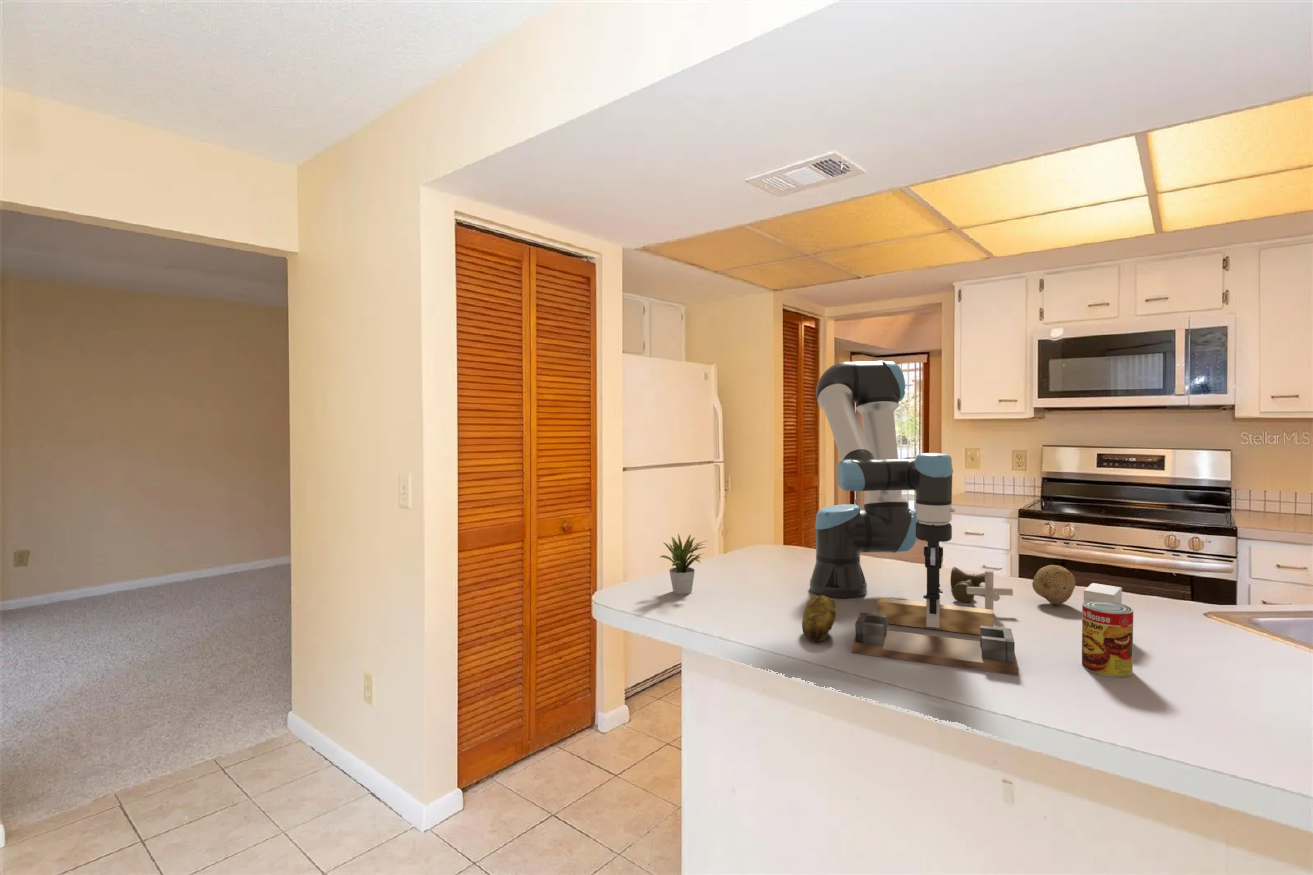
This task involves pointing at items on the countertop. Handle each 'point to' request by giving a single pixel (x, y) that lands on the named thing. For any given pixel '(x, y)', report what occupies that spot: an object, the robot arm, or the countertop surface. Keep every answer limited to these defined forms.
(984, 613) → the oak slat
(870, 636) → the end cap board
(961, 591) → the kendama
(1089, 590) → the small box
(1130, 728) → the countertop surface
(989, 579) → the pipe connector
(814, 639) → the potato
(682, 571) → the house plant
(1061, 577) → the natural sponge
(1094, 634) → the canned food
